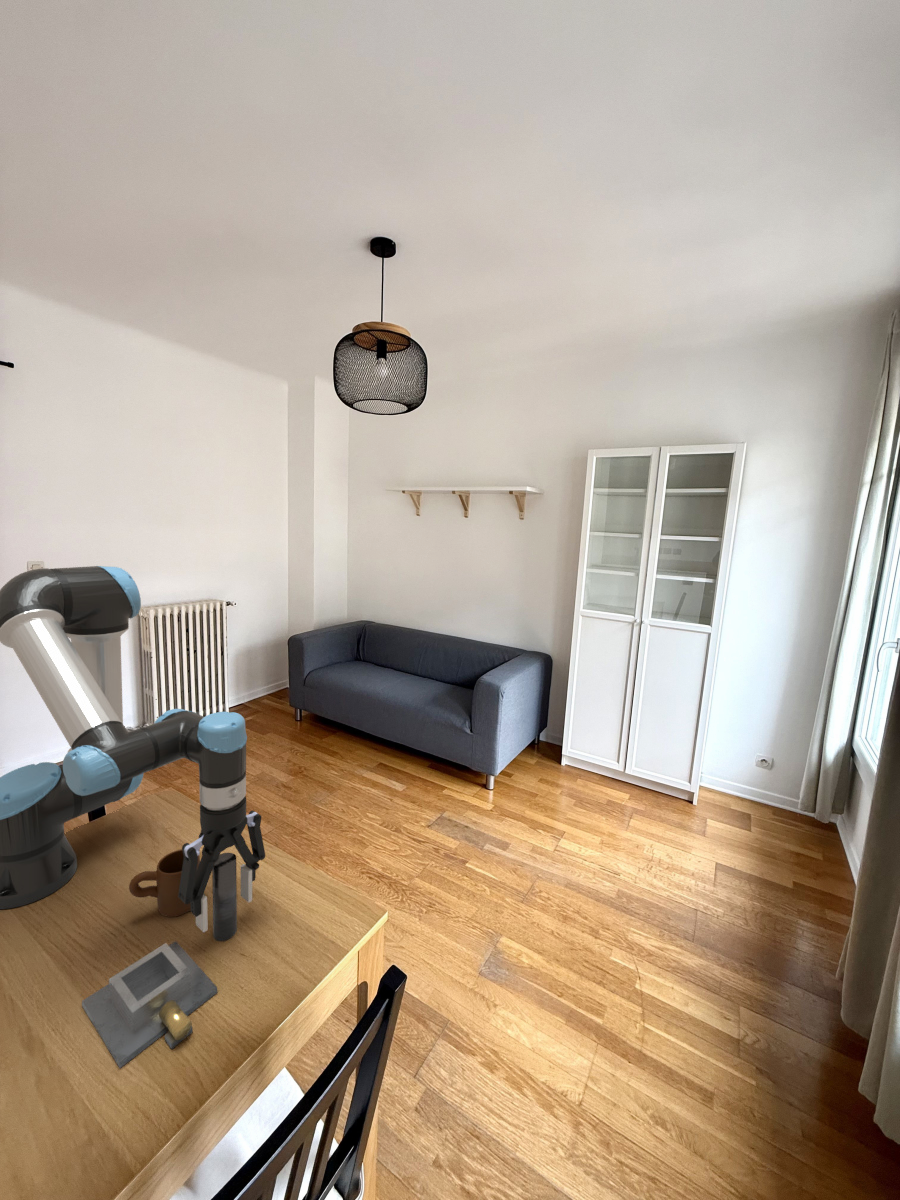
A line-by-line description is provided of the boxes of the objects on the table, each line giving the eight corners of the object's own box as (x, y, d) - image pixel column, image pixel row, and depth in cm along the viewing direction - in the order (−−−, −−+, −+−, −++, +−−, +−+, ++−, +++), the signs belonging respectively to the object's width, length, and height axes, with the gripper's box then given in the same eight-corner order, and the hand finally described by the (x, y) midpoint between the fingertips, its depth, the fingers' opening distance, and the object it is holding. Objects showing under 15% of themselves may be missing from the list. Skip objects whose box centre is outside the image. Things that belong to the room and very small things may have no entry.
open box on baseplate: (82, 1006, 74) (80, 981, 74) (175, 945, 86) (175, 923, 85) (130, 1086, 64) (129, 1058, 64) (229, 1005, 76) (228, 981, 75)
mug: (131, 935, 87) (128, 889, 86) (130, 906, 93) (127, 863, 92) (203, 908, 94) (202, 865, 93) (198, 883, 100) (197, 843, 99)
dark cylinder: (209, 933, 89) (207, 861, 86) (229, 919, 92) (228, 849, 90) (220, 945, 86) (219, 871, 84) (241, 930, 90) (240, 859, 87)
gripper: (172, 837, 74) (176, 963, 78) (286, 783, 91) (285, 889, 95) (150, 818, 79) (155, 938, 82) (263, 770, 96) (263, 871, 99)
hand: (224, 912), depth 88 cm, fingers open, 8 cm apart
